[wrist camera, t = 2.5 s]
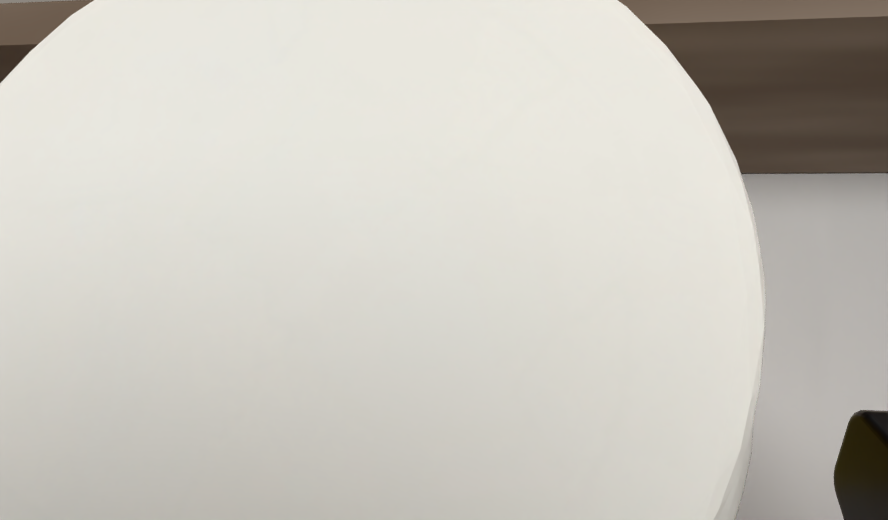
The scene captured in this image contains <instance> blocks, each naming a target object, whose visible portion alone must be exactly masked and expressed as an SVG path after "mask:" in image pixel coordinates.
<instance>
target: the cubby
mask: <svg viewBox="0 0 888 520" xmlns="http://www.w3.org/2000/svg"><path fill="white" fill-rule="evenodd" d="M92 1H94V0H76V1H52V2H29V3H5V4H0V83H1V82H2V81H3V80H4V79H5V78H6V77H7V76H8V75H9V73H10V72H11V71H12V70H13V69H14V68H15V67H16V66H17V65H18V64H19V63H20V62H21V61H22V60H23V59H24V58H25V56H26V55H27V54H28V53H29V52H30V51H31V50H32V49H34V48H35V47H36V46H37V45H38V44H39V43H40V42H41V41H43V40H44V39H45V38H46V37H47V36H48V35H49V34H51V33H52V32H53V31H54V30H55V29H56V28H57V27H58V26H60V25H61V24H62V23H63V22H64V21H65V20H66V19H67V18H69V17H70V16H71V15H72V14H74V13H75V12H77V11H78V10H80V9H82V8H83V7H85V6H86V5H88V4H89V3H91V2H92ZM618 1H619V2H621V3H622V4H624V5H625V6H626V7H627V8H628V9H629V10H630V11H631V12H632V13H633V14H634V15H635V16H636V17H637V18H638V19H640V20H641V21H642V22H643V23H644V24H645V25H646V26H647V27H648V28H649V29H650V30H651V31H652V32H653V33H654V34H655V35H656V36H657V37H658V38H659V39H660V40H661V41H662V42H663V43H664V44H665V45H666V46H667V48H668V49H669V50H670V51H671V53H672V54H673V55H674V57H675V58H676V59H677V61H678V62H679V63H680V65H681V66H682V67H683V69H684V70H685V71H686V73H687V74H688V75H689V76H690V78H691V79H692V80H693V82H694V83H695V84H696V86H697V87H698V89H699V90H700V91H701V93H702V94H703V96H704V97H705V99H706V100H707V102H708V103H709V104H710V107H711V109H712V111H713V113H714V115H715V117H716V119H717V121H718V123H719V125H720V127H721V129H722V131H723V133H724V135H725V137H726V140H727V142H728V144H729V146H730V148H731V150H732V152H733V154H734V156H735V158H736V160H737V163H738V166H739V169H740V172H741V173H888V0H618Z"/></svg>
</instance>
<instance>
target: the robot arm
mask: <svg viewBox="0 0 888 520" xmlns="http://www.w3.org/2000/svg"><path fill="white" fill-rule="evenodd" d="M834 486H835V491H836V495H837V498H838V502H839V505H840V508H841V511H842V514H843V518H844V520H888V411H873V410H861V411H858V412H856V413H854V414H853V416H852V417H851V418H850V421H849V423H848V426H847V429H846V433H845V436H844V439H843V442H842V446H841V449H840V452H839V456H838V459H837V462H836V465H835V470H834Z"/></svg>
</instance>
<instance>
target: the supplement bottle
mask: <svg viewBox="0 0 888 520" xmlns="http://www.w3.org/2000/svg"><path fill="white" fill-rule="evenodd" d="M765 312H766V293H765V281H764V269H763V263H762V257H761V251H760V245H759V240H758V235H757V229H756V224H755V219H754V213H753V209H752V206H751V203H750V200H749V197H748V194H747V191H746V188H745V185H744V182H743V179H742V176H741V172H740V169H739V166H738V163H737V160H736V158H735V156H734V154H733V152H732V150H731V148H730V146H729V144H728V142H727V140H726V137H725V135H724V133H723V131H722V129H721V127H720V125H719V123H718V121H717V119H716V117H715V115H714V113H713V111H712V109H711V107H710V104H709V103H708V102H707V100H706V99H705V97H704V96H703V94H702V93H701V91H700V90H699V89H698V87H697V86H696V84H695V83H694V82H693V80H692V79H691V78H690V76H689V75H688V74H687V73H686V71H685V70H684V69H683V67H682V66H681V65H680V63H679V62H678V61H677V59H676V58H675V57H674V55H673V54H672V53H671V51H670V50H669V49H668V48H667V46H666V45H665V44H664V43H663V42H662V41H661V40H660V39H659V38H658V37H657V36H656V35H655V34H654V33H653V32H652V31H651V30H650V29H649V28H648V27H647V26H646V25H645V24H644V23H643V22H642V21H641V20H640V19H638V18H637V17H636V16H635V15H634V14H633V13H632V12H631V11H630V10H629V9H628V8H627V7H626V6H625V5H624V4H622V3H621V2H619V1H618V0H94V1H92V2H91V3H89V4H88V5H86V6H85V7H83V8H82V9H80V10H78V11H77V12H75V13H74V14H72V15H71V16H70V17H69V18H67V19H66V20H65V21H64V22H63V23H62V24H61V25H60V26H58V27H57V28H56V29H55V30H54V31H53V32H52V33H51V34H49V35H48V36H47V37H46V38H45V39H44V40H43V41H41V42H40V43H39V44H38V45H37V46H36V47H35V48H34V49H32V50H31V51H30V52H29V53H28V54H27V55H26V56H25V58H24V59H23V60H22V61H21V62H20V63H19V64H18V65H17V66H16V67H15V68H14V69H13V70H12V71H11V72H10V73H9V75H8V76H7V77H6V78H5V79H4V80H3V81H2V82H1V83H0V520H735V519H736V515H737V512H738V508H739V505H740V501H741V498H742V494H743V490H744V486H745V481H746V477H747V472H748V468H749V463H750V458H751V454H752V438H753V419H754V413H755V408H756V403H757V399H758V394H759V389H760V380H761V370H762V360H763V349H764V339H765Z"/></svg>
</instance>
